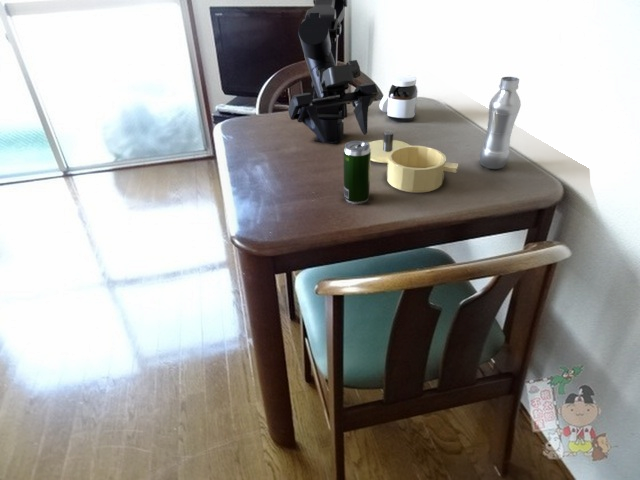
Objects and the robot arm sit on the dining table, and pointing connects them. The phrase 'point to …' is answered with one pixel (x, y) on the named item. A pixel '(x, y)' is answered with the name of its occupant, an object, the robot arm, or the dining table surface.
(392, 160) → the pot
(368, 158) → the beer can
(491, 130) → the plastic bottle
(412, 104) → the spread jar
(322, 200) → the dining table surface
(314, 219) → the dining table surface
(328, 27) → the robot arm
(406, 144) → the pot lid
